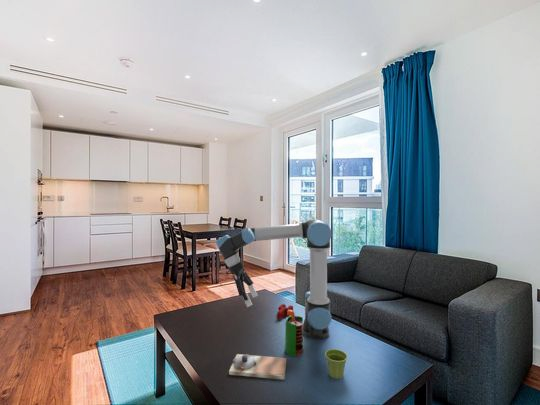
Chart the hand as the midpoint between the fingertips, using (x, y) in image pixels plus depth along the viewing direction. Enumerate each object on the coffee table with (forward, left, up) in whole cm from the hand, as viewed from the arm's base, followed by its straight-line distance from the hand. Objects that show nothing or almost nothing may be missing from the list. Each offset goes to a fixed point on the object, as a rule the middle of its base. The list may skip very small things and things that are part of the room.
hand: (252, 301), depth 143 cm
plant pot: (-40, +18, -23) cm, 50 cm away
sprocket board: (-6, +18, -23) cm, 30 cm away
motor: (-21, +2, -23) cm, 32 cm away
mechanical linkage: (-12, -38, -24) cm, 46 cm away
